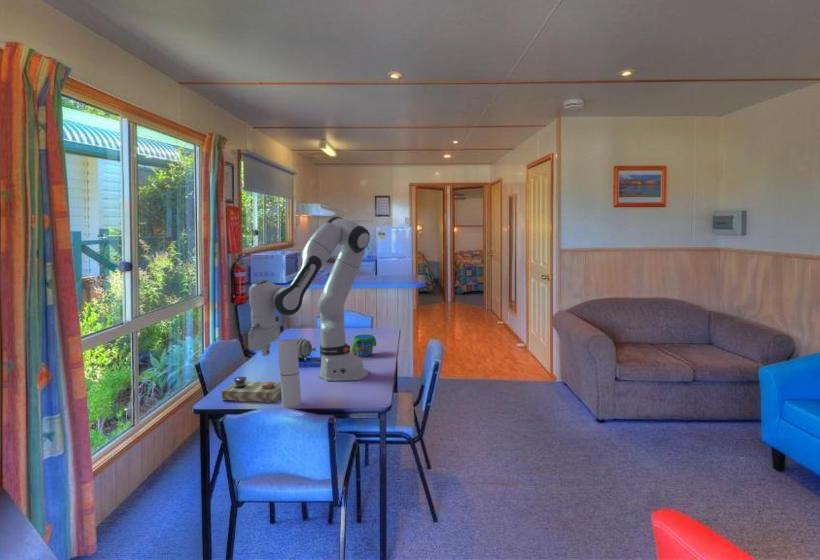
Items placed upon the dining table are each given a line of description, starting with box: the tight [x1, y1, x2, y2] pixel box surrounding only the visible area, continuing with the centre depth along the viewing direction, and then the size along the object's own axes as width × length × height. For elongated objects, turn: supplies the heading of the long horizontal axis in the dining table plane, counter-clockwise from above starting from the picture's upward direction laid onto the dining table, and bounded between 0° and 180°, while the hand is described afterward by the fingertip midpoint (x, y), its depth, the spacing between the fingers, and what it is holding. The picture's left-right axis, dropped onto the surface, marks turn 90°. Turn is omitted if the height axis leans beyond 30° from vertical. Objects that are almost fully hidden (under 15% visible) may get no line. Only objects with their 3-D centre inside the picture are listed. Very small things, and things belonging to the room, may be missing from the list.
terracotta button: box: [262, 381, 275, 389], centre depth 206 cm, size 5×5×4 cm
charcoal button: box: [233, 376, 247, 388], centre depth 208 cm, size 5×5×4 cm
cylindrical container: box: [277, 338, 302, 408], centre depth 196 cm, size 7×7×25 cm
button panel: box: [221, 381, 282, 403], centre depth 207 cm, size 22×12×4 cm, turn 79°
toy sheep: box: [295, 338, 317, 359], centre depth 259 cm, size 11×17×11 cm, turn 76°
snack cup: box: [351, 333, 377, 358], centre depth 263 cm, size 16×10×10 cm
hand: (266, 355), depth 205 cm, fingers closed
